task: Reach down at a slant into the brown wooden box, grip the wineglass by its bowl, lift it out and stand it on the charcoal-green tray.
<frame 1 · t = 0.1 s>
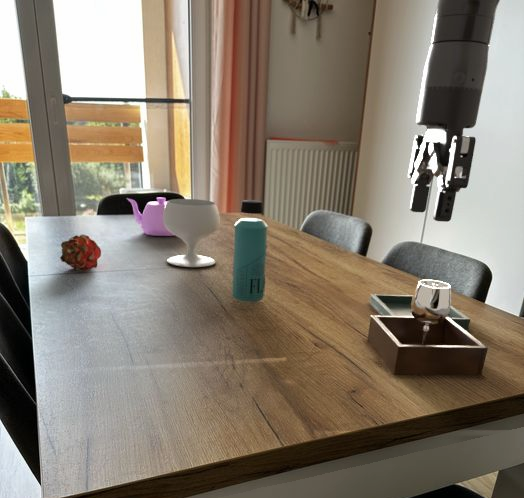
hand: (428, 216, 72), 22 cm above the table, tool pointing down, fingers open, 8 cm apart
teapot: (159, 234, 164), on the table
beverage bottle: (247, 305, 102), on the table
tray: (415, 316, 101), on the table
chalice: (191, 263, 131), on the table
brown wooden box: (420, 356, 82), on the table
wineglass: (420, 357, 82), resting in brown wooden box
dragon fruit: (82, 269, 120), on the table
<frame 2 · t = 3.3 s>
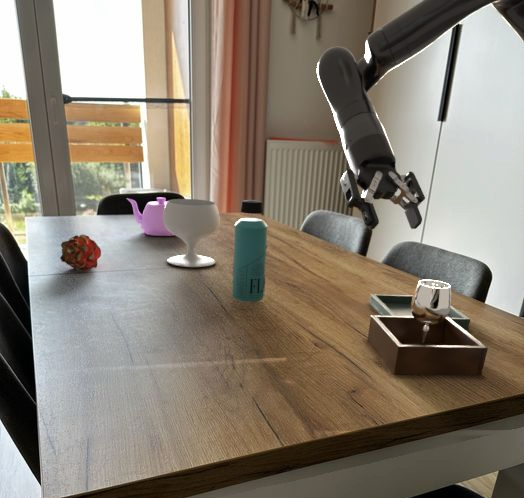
hand: (396, 226, 84), 19 cm above the table, tool tilted 45°, fingers open, 8 cm apart
nothing on the table moved.
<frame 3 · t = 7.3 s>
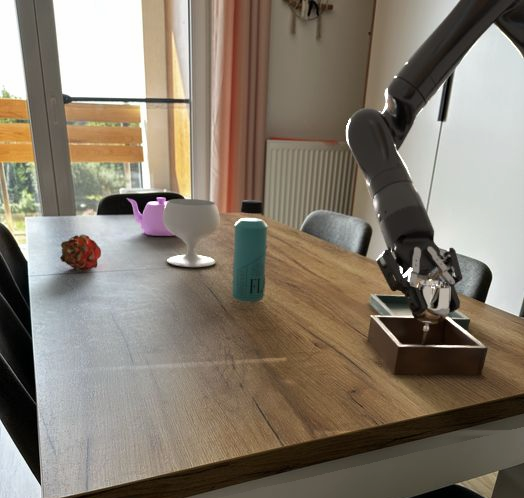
hand: (437, 311, 78), 8 cm above the table, tool tilted 45°, fingers closed on wineglass, 5 cm apart
wineglass: (420, 357, 82), resting in brown wooden box, touching gripper
everything else where it was.
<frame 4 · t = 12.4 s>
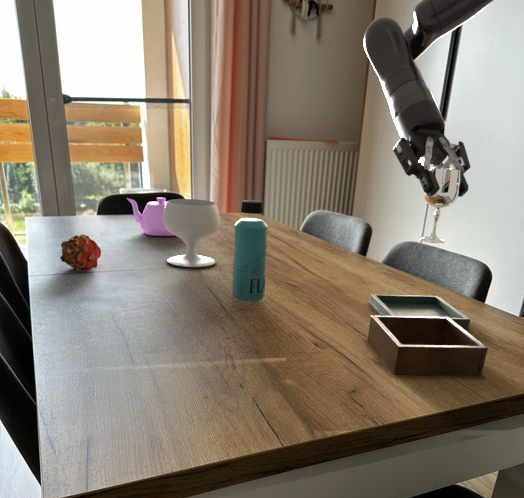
hand: (448, 193, 86), 24 cm above the table, tool tilted 45°, fingers closed on wineglass, 5 cm apart
wineglass: (432, 241, 91), point 16 cm above the table, touching gripper
everything else where it was.
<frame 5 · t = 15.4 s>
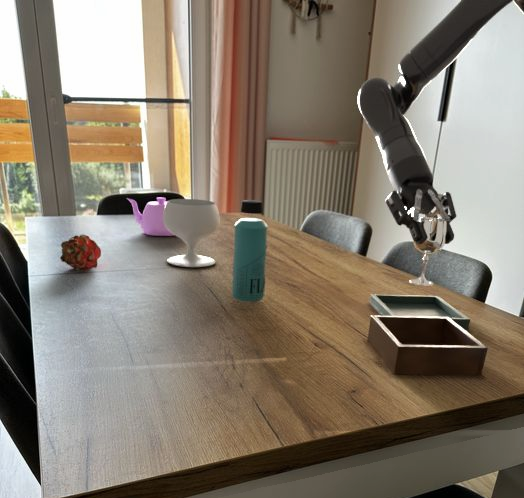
hand: (435, 241, 94), 15 cm above the table, tool tilted 45°, fingers closed on wineglass, 5 cm apart
wineglass: (421, 283, 99), point 7 cm above the table, touching gripper
everything else where it was.
when the fingers open (9 cm above the table, at t = 17.6 s): wineglass stays where it is, resting on tray.
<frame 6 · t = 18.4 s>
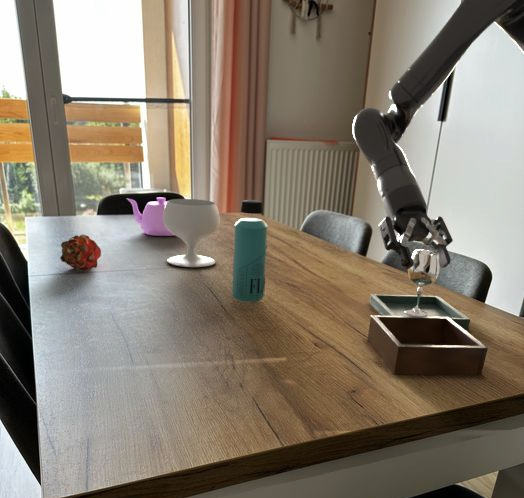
hand: (428, 266, 97), 10 cm above the table, tool tilted 45°, fingers open, 8 cm apart
wineglass: (415, 313, 101), resting on tray
everything else where it was.
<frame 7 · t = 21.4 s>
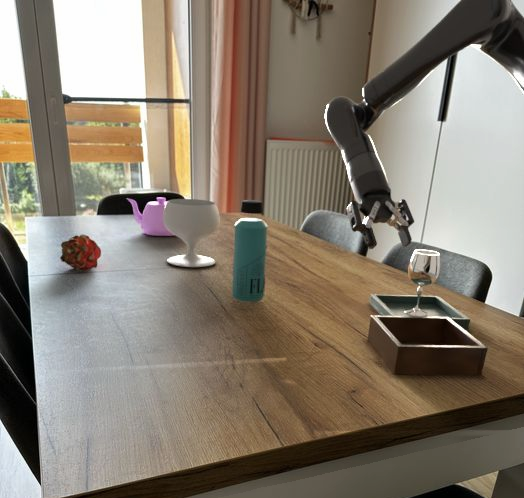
hand: (390, 246, 107), 11 cm above the table, tool tilted 40°, fingers open, 8 cm apart
nothing on the table moved.
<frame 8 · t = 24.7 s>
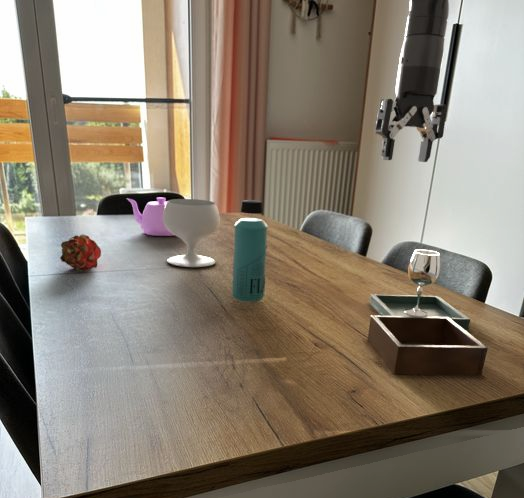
hand: (405, 160, 100), 28 cm above the table, tool pointing down, fingers open, 8 cm apart
nothing on the table moved.
at the end: wineglass inside the target area in the tray (0.2 cm from its centre), point 0.4 cm above the tray's base; wineglass tilted 0°; the gripper is holding nothing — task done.
